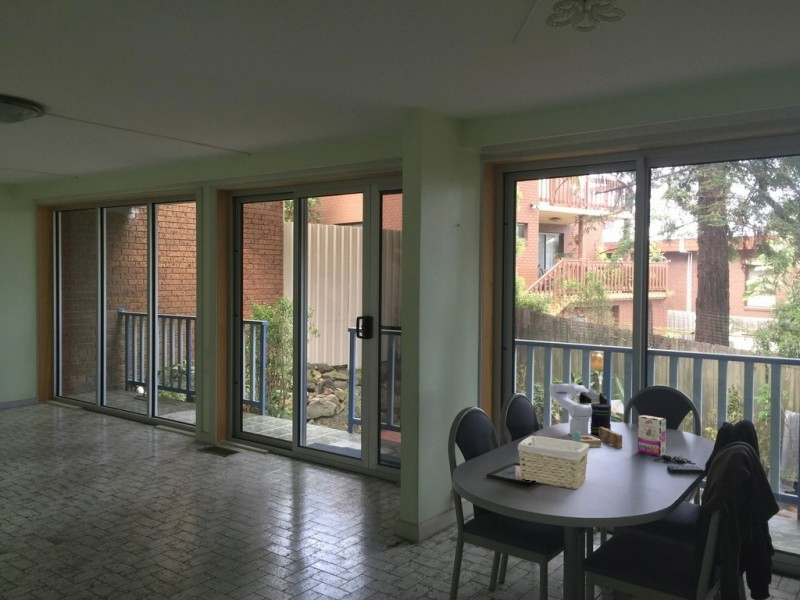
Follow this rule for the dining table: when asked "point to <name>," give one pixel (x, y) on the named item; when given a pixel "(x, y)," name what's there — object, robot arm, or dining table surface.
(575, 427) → the robot arm
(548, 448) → the storage basket
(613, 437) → the backstop wall
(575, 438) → the dowel
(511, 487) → the dining table surface
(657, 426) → the candy bar box
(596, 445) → the light wooden square frame
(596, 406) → the storage jar
